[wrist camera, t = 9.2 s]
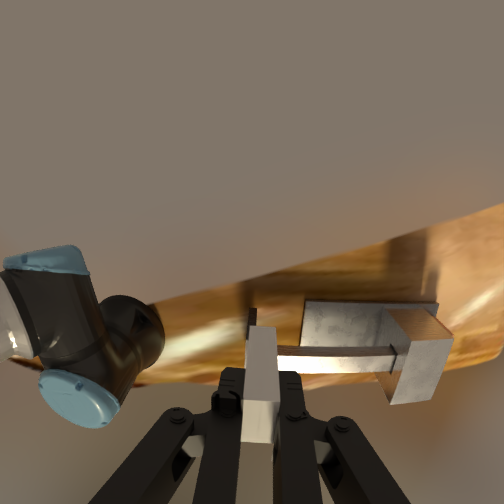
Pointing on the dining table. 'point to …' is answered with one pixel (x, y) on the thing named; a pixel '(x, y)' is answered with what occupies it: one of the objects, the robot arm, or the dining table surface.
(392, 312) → the block
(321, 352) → the grey crossbar bracket
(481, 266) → the dining table surface
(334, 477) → the robot arm
